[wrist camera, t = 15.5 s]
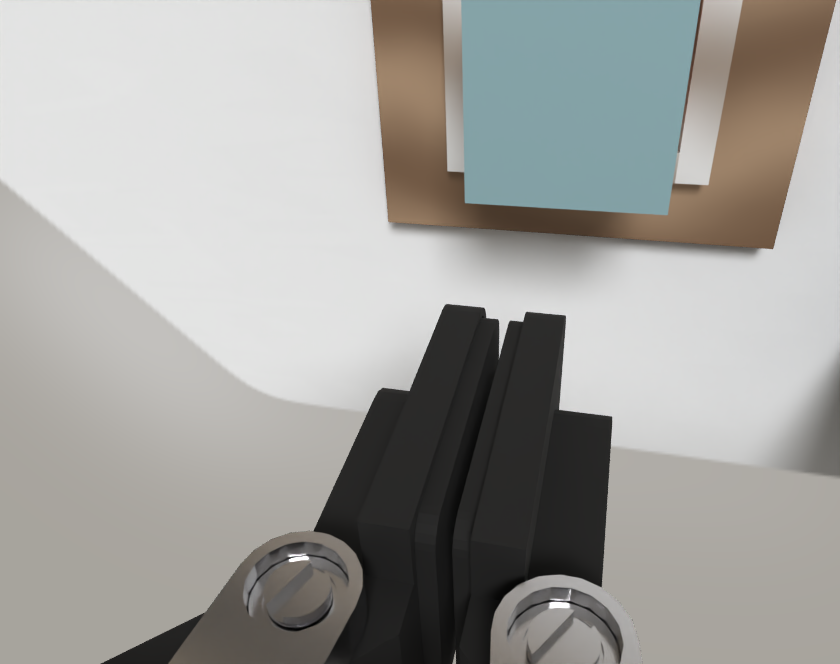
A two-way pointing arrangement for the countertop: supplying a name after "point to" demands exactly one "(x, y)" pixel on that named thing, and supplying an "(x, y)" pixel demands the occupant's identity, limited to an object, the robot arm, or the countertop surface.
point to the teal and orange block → (574, 101)
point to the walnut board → (698, 144)
